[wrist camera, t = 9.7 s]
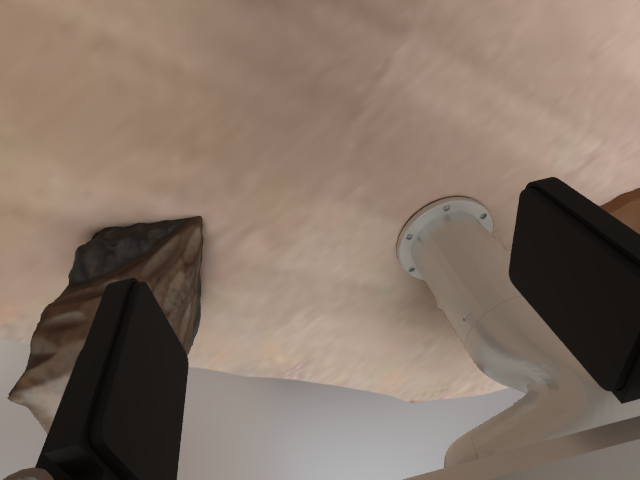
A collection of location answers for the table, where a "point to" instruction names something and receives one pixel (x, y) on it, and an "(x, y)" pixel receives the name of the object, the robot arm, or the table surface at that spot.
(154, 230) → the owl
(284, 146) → the table surface
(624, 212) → the plant
